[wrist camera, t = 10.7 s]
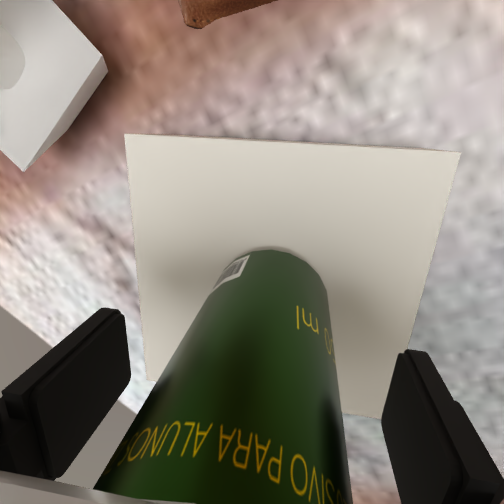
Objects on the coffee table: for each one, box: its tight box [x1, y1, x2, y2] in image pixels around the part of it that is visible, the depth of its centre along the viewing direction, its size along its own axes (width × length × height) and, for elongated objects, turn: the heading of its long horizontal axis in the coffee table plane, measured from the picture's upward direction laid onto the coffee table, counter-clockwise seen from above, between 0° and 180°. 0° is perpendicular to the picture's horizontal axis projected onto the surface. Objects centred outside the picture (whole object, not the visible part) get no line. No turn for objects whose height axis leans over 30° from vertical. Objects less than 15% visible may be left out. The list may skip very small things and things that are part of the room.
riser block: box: [124, 134, 461, 419], centre depth 17 cm, size 14×14×4 cm
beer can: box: [93, 249, 353, 504], centre depth 10 cm, size 5×5×12 cm
